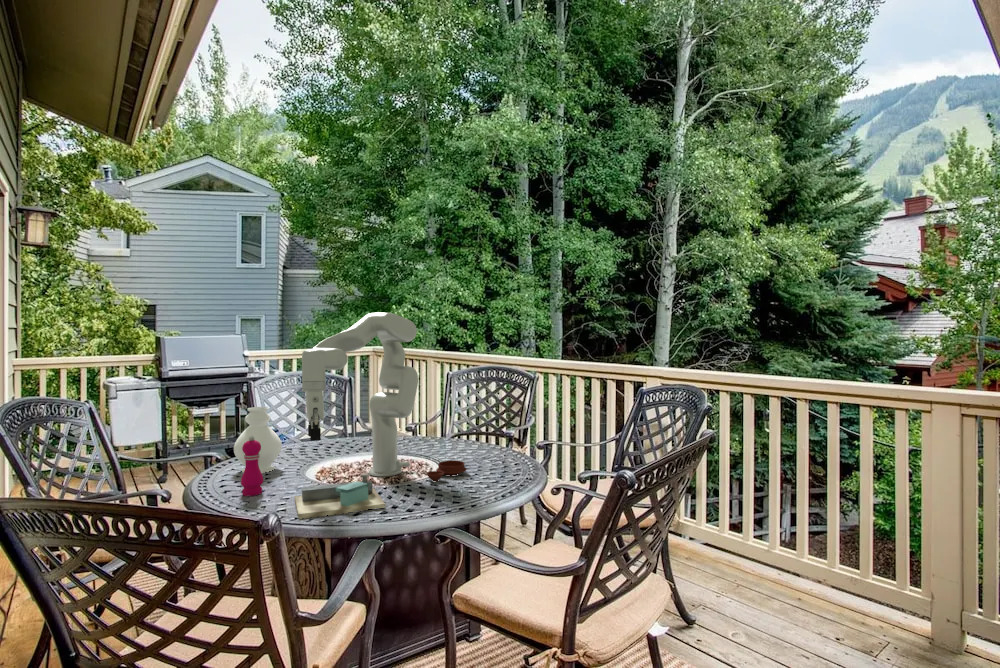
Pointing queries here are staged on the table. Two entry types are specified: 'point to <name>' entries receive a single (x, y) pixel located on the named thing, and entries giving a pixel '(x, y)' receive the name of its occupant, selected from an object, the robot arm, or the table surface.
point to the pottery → (447, 469)
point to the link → (326, 491)
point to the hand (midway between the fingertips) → (314, 437)
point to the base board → (336, 505)
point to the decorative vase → (259, 439)
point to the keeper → (353, 493)
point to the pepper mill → (251, 468)
